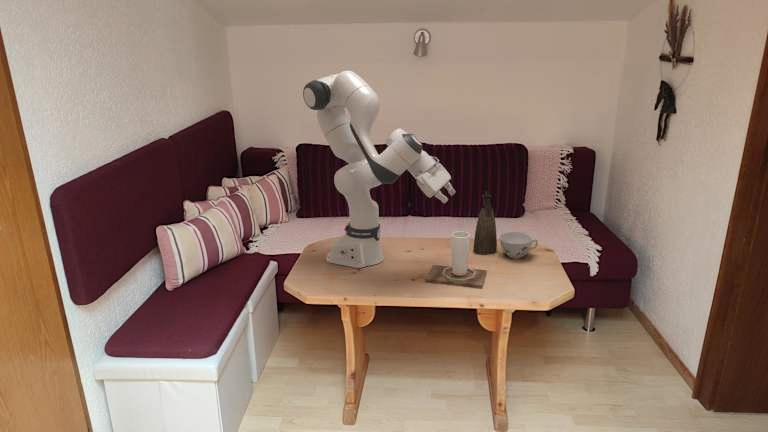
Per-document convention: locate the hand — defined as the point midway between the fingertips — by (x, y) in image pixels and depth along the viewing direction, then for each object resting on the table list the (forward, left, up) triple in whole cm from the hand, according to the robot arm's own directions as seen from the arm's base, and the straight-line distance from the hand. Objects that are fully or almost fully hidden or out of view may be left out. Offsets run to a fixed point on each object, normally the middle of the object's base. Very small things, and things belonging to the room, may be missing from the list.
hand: (450, 197), depth 188 cm
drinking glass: (+4, -1, -28) cm, 28 cm away
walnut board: (+3, -2, -29) cm, 29 cm away
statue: (+10, +25, -29) cm, 40 cm away
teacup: (+23, +24, -29) cm, 44 cm away
